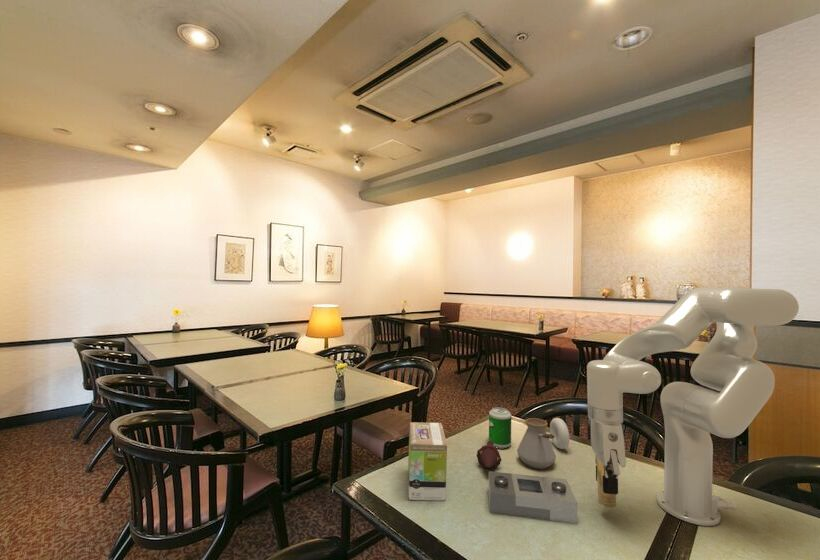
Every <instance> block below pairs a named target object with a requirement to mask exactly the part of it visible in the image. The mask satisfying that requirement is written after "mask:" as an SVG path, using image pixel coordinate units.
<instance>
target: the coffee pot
mask: <svg viewBox="0 0 820 560" xmlns="http://www.w3.org/2000/svg"><path fill="white" fill-rule="evenodd" d="M524 423H525V424H526V425H527V428H526V430H525V433H524V435H523V437H522V439H521V441H520V443H519V445H518V447H517V450H516V452H517V456H518V457H519V458H520V460H521V461H522V462H523V463H524V465H526V466H527V467H530V468H532V469H538V470H544V469H548V468H549V467H550V466H552V465H553V464H554V463H555V461H556V459H557V455H556V454H555V453H556V452H555V450H554V448H553V446H552V444H553V445H555V444H554V443H553V441H551V440H552V438H554V435H552V434H550V433H547V431H546V427H547V426H548V422H547V421H546V420H545V419H541V418H539V417H538V418H535V417H531V418H530V417H529V418H527V419H526V420H525V421H524ZM555 438H556V437H555ZM557 441H558V440H557ZM556 443H557V442H556Z"/></svg>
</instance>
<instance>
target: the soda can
mask: <svg viewBox="0 0 820 560" xmlns="http://www.w3.org/2000/svg"><path fill="white" fill-rule="evenodd" d="M489 440H492V441H493V446H494V447H497V448H496V449H498V448H502V449H501V450H503V449H504V448H506V449H508V448H509V447H510V446H511V445H512V414H511V412H510V411H509V410H508V408H505V407H504V408H503V407H493V408H492V409H490V410H489V412H488V441H489ZM507 447H508V448H507ZM504 450H505V449H504Z"/></svg>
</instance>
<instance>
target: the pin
mask: <svg viewBox="0 0 820 560" xmlns="http://www.w3.org/2000/svg"><path fill="white" fill-rule="evenodd" d="M607 463H611V461H609V462H607ZM607 469H608V470H609V469H612V467H607ZM602 475H603V476H604V468H603V464H602V463H601V461H600V460H599V458H598V457H597V481H596V482H597V483H596V485H597V503H599V504H600V505H601V506H603V507H605V508H609V509H613V508H616V507H617V505H618V504H617V503H618V502H617V494H605V493H604V492H603V478H602Z"/></svg>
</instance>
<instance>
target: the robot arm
mask: <svg viewBox="0 0 820 560" xmlns="http://www.w3.org/2000/svg"><path fill="white" fill-rule="evenodd" d="M799 307H800V305H799V302H798V299H796V296H794V295H793V294H792V293H791V292H789V291H787V290H784V289H779V288H749V287H748V288H747V287H746V288H745V287H744V288H743V287H741V288H739V287H736V288H735V287H714V286H713V287H712V286H711V287H709V286H707V287H706V286H705V287H704V286H703V287H701V286H700V287H695V288H692V289H690V290H688V291H686V292H685V294H684V295H683V296H681V297H680V298H679V299H678V300H677V301H676V302H675V303H674V304H673V306H672V307H670V308H669V309H668V310H667V311H666V312H665V314H664V315H662V316H661V317H660V318H659V319H658V321H657V322H655V323H653V324H651V325H650V326H646V327H644V328H642V329H639V330H638V331H636V332H633V333H631V334H629V335H627V336H626V337H624V338H622V339H621V340H619V342H618V343H616V344H615V345H614V346H613V347H612V348H611V350H609V351H608V352H607V353H606V354H605V356H604V357H603V359H595V360H591V361H589V362H588V363H587V365H586V383H587V386H586V387H587V388H586V389H587V394H586V395H587V417H588V419H589V420H590V446H591V449H592V451H593V453H594V454H595V462H594V463H595V481H596V482H597V457H598V458H599V460H600V461H601V463H602V464H603V468H604V476H603V475H602V478H603V492H604V493H605V494H616V495H618V494H619V476H620V475H621V470H620V467H622V468H625V467H626V466H627V464H626V448H625V437H624V431H623V425H622V424H623V422H624V410H623V409H624V408H623V406H624V405H623V402H624V400H623V399H624V398H623V397H624V396H623V395H624V394H623V393H629V394H630V393H631V394H638V395H639V394H641V395H645V394H651V393H653V392H655V391H657V389H659V387H660V386H661V384H662V376H661V373H660V372H659V370H658V369H657V368H656V367H655V366H653V365H652V364H650V363H648V362H645V361H642V359H644V358H646V357H648V356H651V355H655V354H659V353H667V352H674V351H676V352H677V351H680V350H681V351H682V350H685V349H686V348H687V349H688V348H689V347H690V346H691V345H692V344H693V343H694V342H695V341H696V340H697V339H698V338H699V337H700V336H701V335H702V334H703V333H704V332H705V331H706V330H707V329H708V328H709V327H710V326H711V325H712V324H714V323H716V330H715V331H716V332H715V333H714V336H713V337H712V338H711V340H710V341H709V342H708V343H707V344H706V346H705V347H704V348H703V350H702V351H701V352H700V353H699V354H698V356H697V357H696V358H695V360H694V361H693V363H692V365H691V368H690V375H691V377H692V379H693V380H694V381H695V382H697V383H698V384H700V385H702V386H700V385H697V384H693V383H689V382H687V381H686V382H684V381H673V382H670V383H668V384H667V385H665V386H664V387H663V388H662V391H661V393H660V406H661V410H662V415H663V422H664V472H663V473H664V477H663V478H664V483H663V487H664V489H663V491H662V490H661V491H659V492H658V493H657V494H656V502H657V504H658V505H659V507H660V508H662V509H663V511H665V513H666V512H667V513H668V514H670V515H672V516H673V517H675V518H676V519H679V520H681V521H684V522H686V523H689V524H692V525H698V526H702V527H703V526H706V527H711V526H713V527H714V526H716V525H718V524H719V523H721V514H720V512H719V511H721V510H729V511H736V507H737V506H736V504H735V502H733V501H732V500H725V499H722V496H721V495H715V494H714V495H713V463H714V462H713V460H714V459H713V455H714V447H713V445H714V444H713V439H712V437H711V434H712V435H715V436H717V437H719V438H723V439H733V438H737V436H740V435H741V434H742V433H743V432H745V430H747V428H748V427H749V426H750V424H751V423H752V422H753V421H754V420H755V418H756V417H757V416H758V414H759V413H760V411H761V410H762V409H763V408H764V406H765V405H766V404H767V403H768V401H769V399H770V398H771V397H772V395H773V393H774V389H775V385H776V383H775V382H776V379H775V374H774V372H773V370H772V369H771V368H770V367H769V366H768V365H767V364H766V363H764V362H762V361H760V360H757V359H754V358H753V357H754V355H755V353H756V351H757V349H758V339H757V337H756V335H755V332H754V330H753V328H752V326H783V325H786V324H788V323H791V321H793V320H794V319H795V318H796V317H797V315H798V314H799V313H798V312H799ZM703 386H704V387H703ZM705 387H706V388H705ZM709 388H710V389H709ZM609 461H611V463H607V462H609ZM607 467H612V469H609V470H608V469H607Z"/></svg>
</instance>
